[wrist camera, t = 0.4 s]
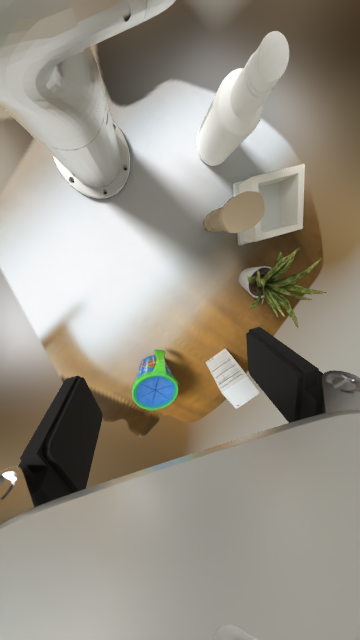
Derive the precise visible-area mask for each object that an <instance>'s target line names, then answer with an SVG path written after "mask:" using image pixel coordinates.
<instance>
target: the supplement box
mask: <svg viewBox="0 0 360 640" xmlns="http://www.w3.org/2000/svg"><path fill="white" fill-rule="evenodd" d="M206 364H207V366H208V368H209V370H210V372H211V374H212V376H213V378H214V379H215V381H216V383H217V385H218V387H219V389H220V391H221V393H222V394H223V395H224V396H225V397H226V398H227V400H228V401H229V402H230V403H231V404H232V405H233V406H234V407H235V408H236V409H237V408H238V407H240V406H241V405H243V404H244V403H246V402H247V401H249V400H250V399H252V398H253V397H255V396H256V395H258V394H259V391H258V389H257V388H256V386H255V385H254V383H253V382H252V381H251V379H250V378H249V377H248V375H247V374H246V373H245V372H244V370H243V369H242V368H241V367H240V365H239V364H238V363H237V362H236V361H235V359H234V358H233V357H232V356H231V354H230V353H229V352H228V351H227V349H226V348H225V349H224V350H222V351H221V352H219V353H218V354H216V355H215V356H214V357H212V358H211V359H210V360H208V361H207V362H206Z"/></svg>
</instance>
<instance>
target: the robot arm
mask: <svg viewBox="0 0 360 640" xmlns="http://www.w3.org/2000/svg"><path fill="white" fill-rule="evenodd" d="M174 2H175V0H0V106H1V107H3V108H4V109H5V110H6V111H7V112H8V113H9V114H11V115H12V116H13V117H14V118H15V119H16V120H17V121H18V122H19V123H20V124H21V125H22V126H23V127H24V128H25V129H26V130H27V131H28V132H29V133H30V134H31V135H32V136H33V137H34V138H35V139H36V140H37V141H38V142H39V143H40V144H41V145H42V146H44V147H45V148H46V149H47V150H48V151H49V152H50V153H51V154H52V155H53V158H54V161H55V164H56V166H57V168H58V170H59V172H60V173H61V175H62V176H63V177H64V179H65V180H66V181H67V182H68V183H69V184H70V185H71V186H72V187H73V188H74V189H76V190H77V191H79V192H80V193H82V194H84V195H86V196H88V197H91V198H96V199H104V198H109V197H111V196H114V195H115V194H117V193H118V192H119V191H120V190H121V189H122V188H123V187H124V185H125V183H126V182H127V179H128V176H129V172H130V154H129V149H128V145H127V142H126V140H125V137H124V135H123V133H122V131H121V130H120V128H119V127H118V125H117V124H116V123H115V122H114V120H113V119H112V118H111V114H110V111H109V107H108V103H107V99H106V95H105V91H104V87H103V83H102V79H101V76H100V72H99V69H98V65H97V63H96V60H95V57H94V55H93V52H92V50H91V48H90V46H92V45H94V44H96V43H99V42H101V41H103V40H105V39H107V38H110V37H112V36H114V35H116V34H118V33H120V32H123V31H125V30H127V29H129V28H132V27H134V26H136V25H138V24H140V23H142V22H144V21H146V20H148V19H150V18H152V17H154V16H156V15H158V14H159V13H161V12H163V11H164V10H166V9H167V8H168V7H169V6H171V5H172V4H173V3H174ZM114 129H115V130H114ZM124 168H126V169H127V170H126V171H125V170H124ZM72 180H74V183H72ZM104 192H107V194H104ZM246 337H247V356H248V371H249V373H250V375H251V377H252V378H253V379H254V380H255V381H256V383H257V384H258V385H259V386H260V388H261V389H262V390H263V391H264V392H265V394H266V395H267V396H268V397H269V399H270V400H271V401H272V402H273V404H274V405H275V406H276V407H277V408H278V410H279V411H280V412H281V413H282V414H283V416H284V417H285V418H286V420H287V421H288V422H289V423H288V424H284V425H281V426H278V427H274V428H271V429H268V430H265V431H262V432H259V433H255V434H252V435H249V436H246V437H243V438H240V439H237V440H234V441H230V442H227V443H224V444H221V445H218V446H215V447H212V448H208V449H205V450H202V451H199V452H196V453H193V454H190V455H187V456H184V457H180V458H177V459H174V460H171V461H168V462H165V463H162V464H159V465H156V466H153V467H150V468H147V469H144V470H141V471H138V472H135V473H131V474H128V475H125V476H122V477H119V478H116V479H113V480H110V481H107V482H104V483H101V484H98V485H95V486H92V487H89V488H87V489H86V485H87V481H88V477H89V472H90V468H91V464H92V460H93V455H94V451H95V447H96V443H97V439H98V434H99V430H100V426H101V421H102V412H101V410H100V408H99V406H98V404H97V402H96V400H95V398H94V397H93V395H92V393H91V391H90V389H89V387H88V385H87V383H86V381H85V379H84V378H83V377H82V378H80V377H79V376H75V377H71V378H67V379H66V380H65V381H64V383H63V385H62V386H61V388H60V390H59V392H58V393H57V395H56V397H55V399H54V400H53V402H52V404H51V405H50V407H49V409H48V411H47V412H46V414H45V416H44V418H43V419H42V421H41V423H40V425H39V426H38V428H37V430H36V431H35V433H34V435H33V437H32V438H31V440H30V442H29V444H28V445H27V447H26V449H25V451H24V452H23V454H22V456H21V458H20V459H21V460H22V461H21V463H20V464H19V466H18V467H11V468H8V469H6V470H4V471H2V472H0V640H360V378H359V377H357V376H355V375H353V374H350V373H347V372H343V371H328V372H325V373H324V374H323V373H322V372H320V371H319V369H318V368H317V367H315V366H314V365H312V364H311V363H310V362H308V361H307V360H305V359H304V358H302V357H301V356H300V355H298V354H297V353H296V352H294V351H293V350H291V349H290V348H289V347H287V346H286V345H284V344H283V343H282V342H280V341H278V340H277V339H276V338H274V337H273V336H272V335H270V334H269V333H268V332H266V331H265V330H263V329H262V328H260V327H257V328H254V329H250V330H249V332H248V333H247V334H246Z"/></svg>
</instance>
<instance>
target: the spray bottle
mask: <svg viewBox="0 0 360 640" xmlns="http://www.w3.org/2000/svg"><path fill="white" fill-rule="evenodd" d="M288 60H289V46H288V43H287V40H286V38H285V37H284V35H283V34H281V33H280V32H277V31H274V32H271V33H269V34H267V35H266V36H265V37H264V39H263V41H262V42H261V44H260V46H259V47H258V49H257V51H255V52H254V53H253V54H252V55H251V57H250V58H249V60H248V62H247V64H246V65H245V67H244V69H242V68H239V69H236V70H234V71H232V72H230V73H229V74H228V75H227V76H226V78H224V80H223V82H222V83H221V85H220V87H219V89H218V91H217V93H216V95H215V97H214V100H213V102H212V104H211V106H210V108H209V110H208V112H207V114H206V116H205V118H204V120H203V122H202V124H201V126H200V129H199V131H198V134H197V138H196V147H197V151H198V154H199V156H200V158H201V160H203V161H204V162H205V163H206V164H208V165H210V166H216V165H219V164H221V163H222V162H223V161H224V160H226V158H227V157H228V156H229V155H230V154H231V153H232V152H233V151H234V150H235V149H236V148H237V147H238V146H239V145H240V144H241V143H242V142H243V141H244V140H245V139H246V138H247V137H248V136H249V135H250V134H251V133H252V132H253V130H254V129H255V128H256V126H257V124H258V123H259V121H260V118H261V115H262V112H263V104H264V100H265V99H266V98H267V96H268V95H269V94H270V93H271V91H272V90H273V88H274V86H275V84H276V82H277V81H278V80H279V79H280V77H281V76H282V75H283V73H284V72H285V70H286V67H287V64H288Z"/></svg>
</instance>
